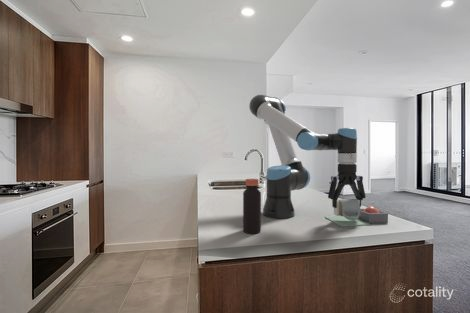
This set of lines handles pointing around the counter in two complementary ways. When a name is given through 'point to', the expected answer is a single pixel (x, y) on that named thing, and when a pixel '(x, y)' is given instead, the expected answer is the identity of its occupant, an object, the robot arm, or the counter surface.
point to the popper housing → (373, 217)
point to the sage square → (346, 221)
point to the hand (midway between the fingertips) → (346, 214)
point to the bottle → (252, 207)
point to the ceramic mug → (349, 208)
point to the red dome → (371, 210)
